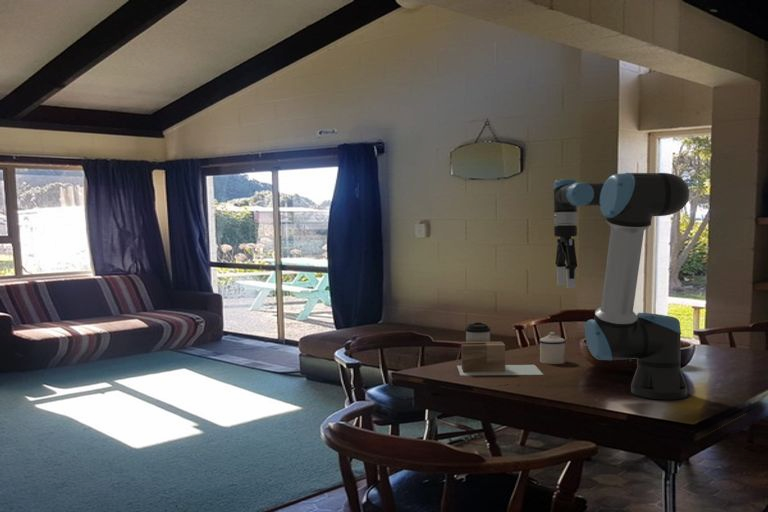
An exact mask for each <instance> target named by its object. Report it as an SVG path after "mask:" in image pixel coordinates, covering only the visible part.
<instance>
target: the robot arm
mask: <svg viewBox="0 0 768 512" xmlns="http://www.w3.org/2000/svg"><path fill="white" fill-rule="evenodd" d="M552 191H553V213H554V214H553V215H552V219H553V220H554V221H553V222H554V223H553V224H555V226H554V229H553V230H554V231H553V232H554V233H553V236H554V237H559V238H557V241H556V242H557V243H556V244H557V245H556V256H555V265H556V274H557V275H556V281H557V283H556V285H557V286H559V287H560V286H561V287H562V286H564V287H565V286H566V289H568V290H569V289H574V290H575V289H576V268H577V267H578V262H577V255H576V247H575V239H574V238H572V237H576V236H578V226H577V225H576V224H578V212H577V211H578V208H577V207H599V209H600V212H601V214H602V215H603V217H605V221H606V223H607V224H608V226H609V227H610V231H609V233H610V234H609V240H608V248H607V255H606V256H607V258H606V266H605V274H604V280H603V281H604V282H603V290H602V298H601V304H600V305H601V306H600V307H599V308H597V309H595V311H594V318H593V319H592V318H591V319H588V320H587V321H586V323H585V326H584V336H585V341H586V345H587V348H588V350H589V352H590V354H591V356H592V357H594V358H595V359H596V360H600V361H614V360H615V361H616V360H619V361H620V360H631V359H637V363H636V364H637V365H636V366H637V367H636V370H635V373H634V375H633V378H632V380H631V385H630V392H631V394H633V395H635V396H638V397H641V398H647V399H653V400H680V399H685V398H687V397H688V387H687V384H686V380H685V377H684V374H683V372H682V369H681V335H682V331H681V322H680V320H679V319H678V318H676V316H675V317H674V316H672V315H671V316H669V315H665V314H657V313H650V312H649V313H648V312H638V313H637V314H636V313H635V312H634V305H635V301H636V300H635V299H636V291H637V284H638V278H639V277H638V276H639V272H640V271H639V270H640V269H639V268H640V263H641V255H642V247H643V242H644V241H643V240H644V232H645V230H646V229H648V228H649V227H650V226H651V225H652V220H653V219H652V218H653V217H666V216H670V215H671V216H672V215H675V214H676V213H678V212H680V211H682V209H683V208H684V207H685V206H686V205H687V203H688V202H689V198H690V189H689V186H688V184H687V183H686V181H685V180H684V179H683V178H681V177H680V176H678V175H676V174H673V173H667V172H655V173H654V172H625V173H615V174H612V175H610V176H609V177H608V178H607V179H606V180H605V182H583V181H581V182H580V181H578V182H577V181H576V179H574V178H573V179H572V178H565V179H564V178H562V179H555V181H554V182H553V190H552Z"/></svg>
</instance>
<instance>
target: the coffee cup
mask: <svg viewBox="0 0 768 512" xmlns="http://www.w3.org/2000/svg"><path fill="white" fill-rule="evenodd" d="M465 336H466V337H465V342H491V327H489V325H488V324H486V323H482V322H474V323H470V324H468V325H467V326H466V327H465Z"/></svg>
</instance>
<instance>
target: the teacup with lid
mask: <svg viewBox="0 0 768 512" xmlns="http://www.w3.org/2000/svg"><path fill="white" fill-rule="evenodd" d="M539 362H540V363H543V364H546V365H547V364H548V365H559V364H560V365H561V364H565V363H566V340H565V338H562V337H561V336H559V335H558V334H557V335H556V332H554V331H551V332H549V333H548V334H547V335H546V336H543V337H541V338H539Z"/></svg>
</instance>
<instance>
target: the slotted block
mask: <svg viewBox="0 0 768 512" xmlns="http://www.w3.org/2000/svg"><path fill="white" fill-rule="evenodd" d="M460 344H461V345H460V348H461V350H460V351H461V356H460V357H461V366H462V369H463V372H505V365H506V344H505V343H504V342H503V341H490V342H466V341H462V342H460Z"/></svg>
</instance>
